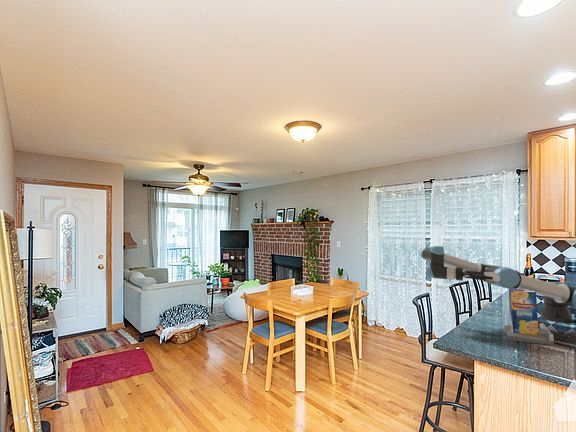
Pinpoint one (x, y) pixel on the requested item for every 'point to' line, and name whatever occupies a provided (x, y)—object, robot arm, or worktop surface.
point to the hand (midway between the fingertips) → (498, 276)
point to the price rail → (546, 332)
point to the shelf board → (527, 336)
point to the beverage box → (523, 311)
